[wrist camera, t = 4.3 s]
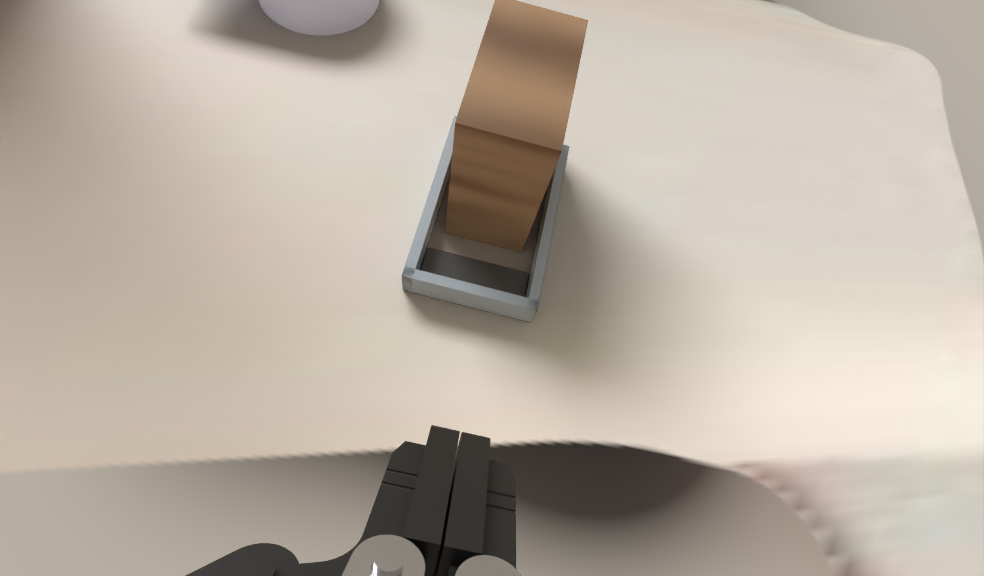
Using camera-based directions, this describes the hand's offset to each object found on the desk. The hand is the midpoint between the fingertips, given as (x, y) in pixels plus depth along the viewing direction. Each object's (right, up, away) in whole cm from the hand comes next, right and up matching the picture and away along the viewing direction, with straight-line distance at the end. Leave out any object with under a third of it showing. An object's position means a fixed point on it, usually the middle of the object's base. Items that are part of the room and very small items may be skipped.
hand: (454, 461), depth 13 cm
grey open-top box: (+1, +9, +20) cm, 22 cm away
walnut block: (+1, +11, +21) cm, 24 cm away
